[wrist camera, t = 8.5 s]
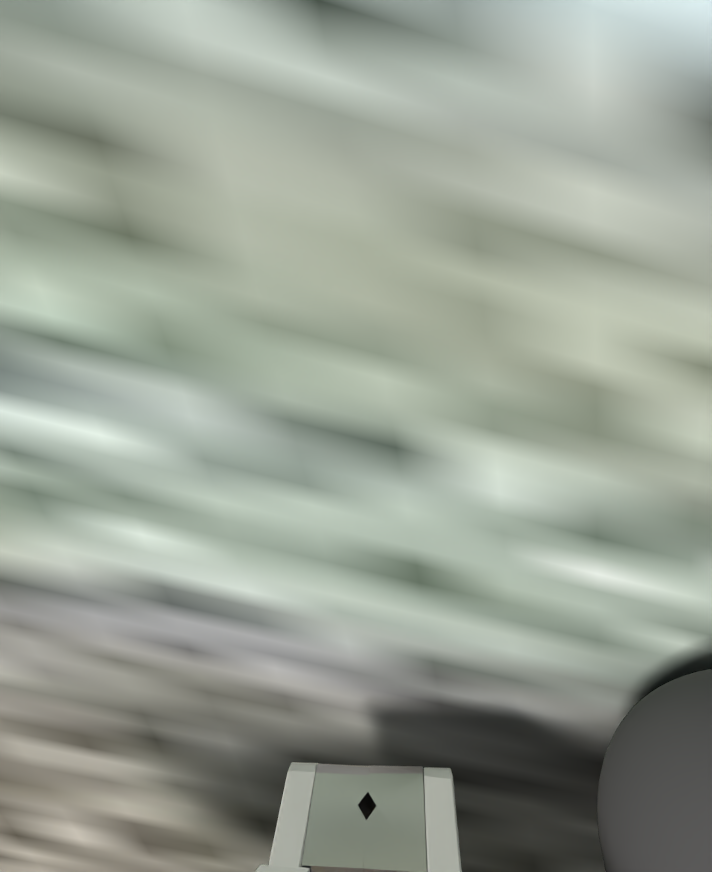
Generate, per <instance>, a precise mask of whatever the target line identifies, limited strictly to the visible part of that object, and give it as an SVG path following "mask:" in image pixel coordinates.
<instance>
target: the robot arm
mask: <svg viewBox="0 0 712 872" xmlns="http://www.w3.org/2000/svg"><path fill="white" fill-rule="evenodd" d="M255 872H462V869H461V858H460V848H459V837H458V827H457V816H456V805H455V795H454V784H453V775H452V772H451V768H433V767H424V768H423V766H373V765H370V766H361V765H337V764H319V763H299V762H292V763H291V765H290V768H289V770H288V773H287V777H286V782H285V787H284V792H283V796H282V801H281V806H280V811H279V816H278V821H277V826H276V830H275V835H274V840H273V845H272V850H271V855H270V859H269V864H268V865H260V866H259V867H258V868H257V869H256V871H255Z"/></svg>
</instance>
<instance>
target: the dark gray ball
mask: <svg viewBox="0 0 712 872" xmlns="http://www.w3.org/2000/svg"><path fill="white" fill-rule="evenodd" d="M597 818H598V832H599V839H600V845H601V850H602V855H603V860H604V865H605V870H606V872H712V669H709V670H704V671H699V672H695V673H691V674H688V675H684V676H682V677H679V678H677V679H674V680H672V681H670V682H668V683H666V684H664V685H662V686H660V687H658V688H657V689H655V690H654V691H652V692H651V693H649V694H648V695H647V696H645V697H644V698H643V699H642V700H640V701H639V702H638V703H637V704H636V705H635V706H634V707H633V709H632V710H631V711H630V712H629V713H628V715H627V716H626V717H625V718H624V719H623V721H622V722H621V723H620V725H619V726H618V728H617V730H616V731H615V733H614V736H613V738H612V740H611V742H610V744H609V746H608V749H607V751H606V754H605V757H604V761H603V766H602V770H601V774H600V778H599V786H598V800H597Z"/></svg>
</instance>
